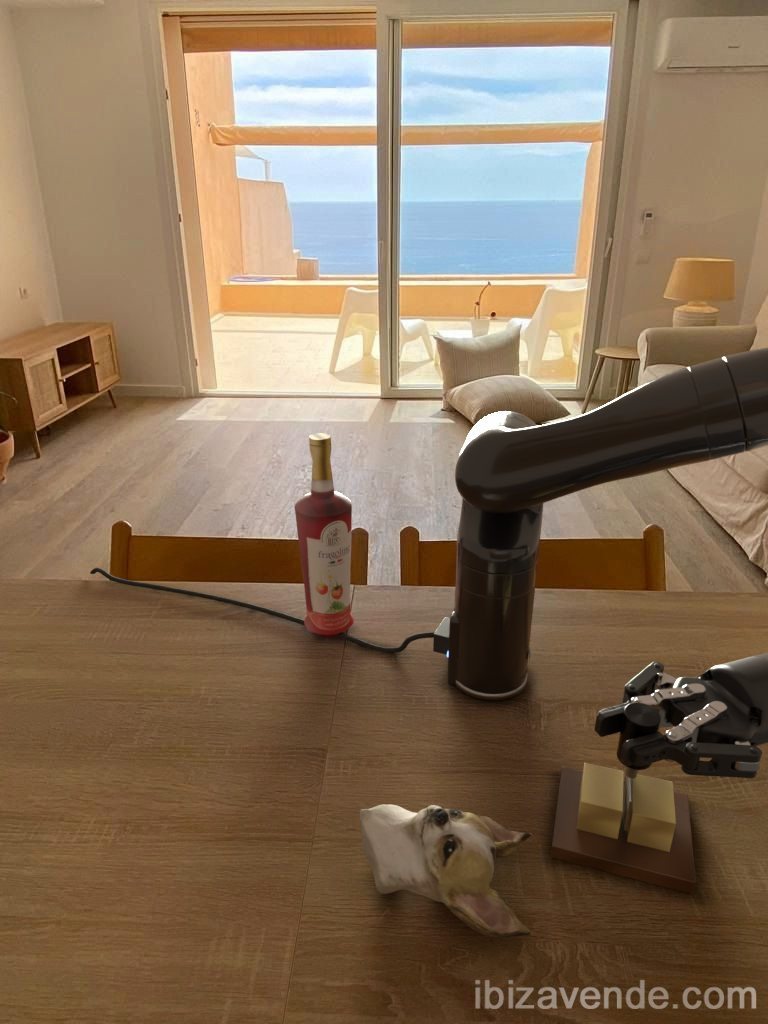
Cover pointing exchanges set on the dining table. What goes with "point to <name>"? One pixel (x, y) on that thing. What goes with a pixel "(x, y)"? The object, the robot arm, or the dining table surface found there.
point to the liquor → (325, 546)
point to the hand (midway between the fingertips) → (611, 739)
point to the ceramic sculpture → (443, 861)
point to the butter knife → (634, 724)
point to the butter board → (600, 827)
